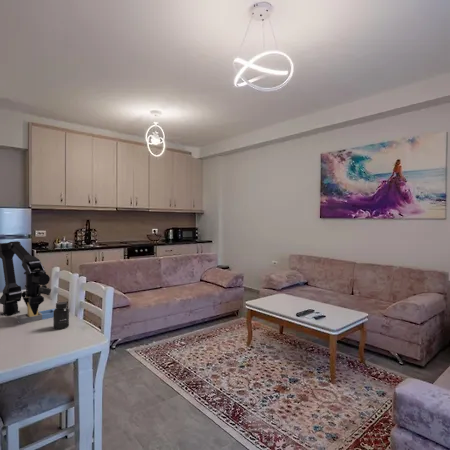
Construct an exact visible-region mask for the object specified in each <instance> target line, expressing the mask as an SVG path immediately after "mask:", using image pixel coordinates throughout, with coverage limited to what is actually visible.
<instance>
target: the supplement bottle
mask: <svg viewBox="0 0 450 450" xmlns="http://www.w3.org/2000/svg"><path fill="white" fill-rule="evenodd" d="M55 308H56V309H55ZM55 308H54V309H55V310H54V312H53V317H52V319H53V322H52V325H53V329H54V330H64V329H68V328H69V326H70V309H69V307H68V302H67V301H59V302H57V303H55Z"/></svg>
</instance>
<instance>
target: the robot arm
mask: <svg viewBox="0 0 450 450" xmlns="http://www.w3.org/2000/svg"><path fill="white" fill-rule="evenodd" d="M15 255H16V256H17V257H18V259H19V260H20V261H21V266H22V268H23V269H24V272H23V275H25V285H24V288H25V290H23V291H22V287H21V285H18V283H17V281H16V280H17V279H16V274H15V265H14V256H15ZM0 259H1V262H2V268H3V277H4V283H5V285H4V287H3V289H2V294H1V296H0V305H2V311H3V312H2V313H0V315H1V316H3V315H4V316H13V315H16V314H18V313H21V310H19V304H18V302H21V300H23V302H24V303H25V305H26V306H27V302H29V305H30V307H31V310H32V312H33V314H34V315H36V314H37V311H38V312H39V307H40V305H41V304H43V302H44V301H45V298H44V296H42V295H46V296H50V294H51V291H52V289H51V288H50V287H47V284H49V283H50V280H51V277H50V276H49V274H47V272H46V270H45V267H44V265H43V264H42V262H41V259H39V258H38V257H37V256H34V255H31V254H30V253H29V252H28V251H27V249H26V248H25V247H24V246H23V245H22V243H21V242H20V241H19V240H16V241H14V240H13V241H10V242H9V241H8V242H0Z"/></svg>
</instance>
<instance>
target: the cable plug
mask: <svg viewBox="0 0 450 450" xmlns="http://www.w3.org/2000/svg"><path fill="white" fill-rule="evenodd" d="M26 308H27V309H26V310H27V311H26V312H27V313H26V314H27V315H28V317H32V316H37V315H38V312H39V310H38V311H37V314H36V315H34V314H33V312H32V310H31V307H30V305H29V302H27V305H26Z"/></svg>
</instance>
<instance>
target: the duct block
mask: <svg viewBox="0 0 450 450" xmlns="http://www.w3.org/2000/svg"><path fill="white" fill-rule="evenodd" d="M55 309H56V307H55V308H51V309H46V310H40V311H39V310H38V315H37V316H32V317H28V315H27V313H24V314H18V315H17V316H16V321H17V322H18V323H19V324H20V325H23V324H27V323H31V322H36V321H42V320H47V319H53V312H54V310H55Z"/></svg>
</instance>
